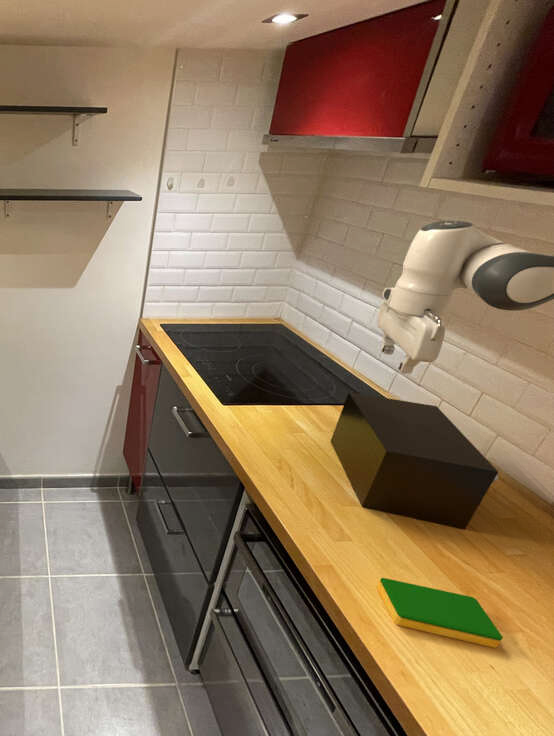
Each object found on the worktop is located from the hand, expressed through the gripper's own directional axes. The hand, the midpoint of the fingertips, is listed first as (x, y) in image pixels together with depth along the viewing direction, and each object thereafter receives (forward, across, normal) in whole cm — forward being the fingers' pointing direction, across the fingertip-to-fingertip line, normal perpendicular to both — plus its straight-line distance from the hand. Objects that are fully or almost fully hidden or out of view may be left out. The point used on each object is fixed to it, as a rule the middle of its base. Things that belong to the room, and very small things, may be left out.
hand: (395, 362), depth 97 cm
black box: (+28, -4, -6) cm, 29 cm away
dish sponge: (+28, -40, 0) cm, 49 cm away
